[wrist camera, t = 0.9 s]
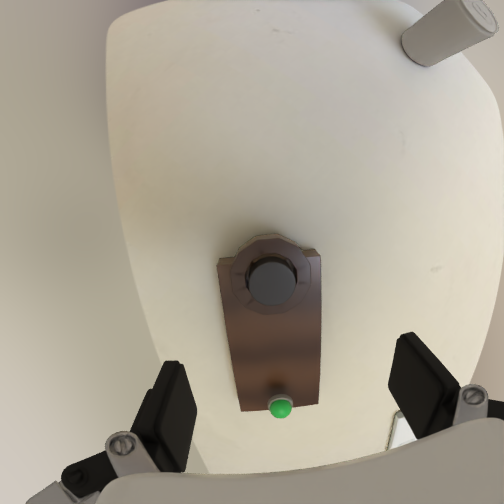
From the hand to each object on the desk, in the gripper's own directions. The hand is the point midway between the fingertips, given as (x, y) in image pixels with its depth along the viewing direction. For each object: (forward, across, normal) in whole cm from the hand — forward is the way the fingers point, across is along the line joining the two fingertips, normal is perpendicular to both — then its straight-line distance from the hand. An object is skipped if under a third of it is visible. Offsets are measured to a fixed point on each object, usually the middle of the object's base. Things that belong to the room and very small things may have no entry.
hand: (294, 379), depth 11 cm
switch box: (+16, 0, +7) cm, 18 cm away
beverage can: (+16, -19, -22) cm, 34 cm away
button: (+13, 0, 0) cm, 13 cm away
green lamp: (+12, 0, +14) cm, 18 cm away
